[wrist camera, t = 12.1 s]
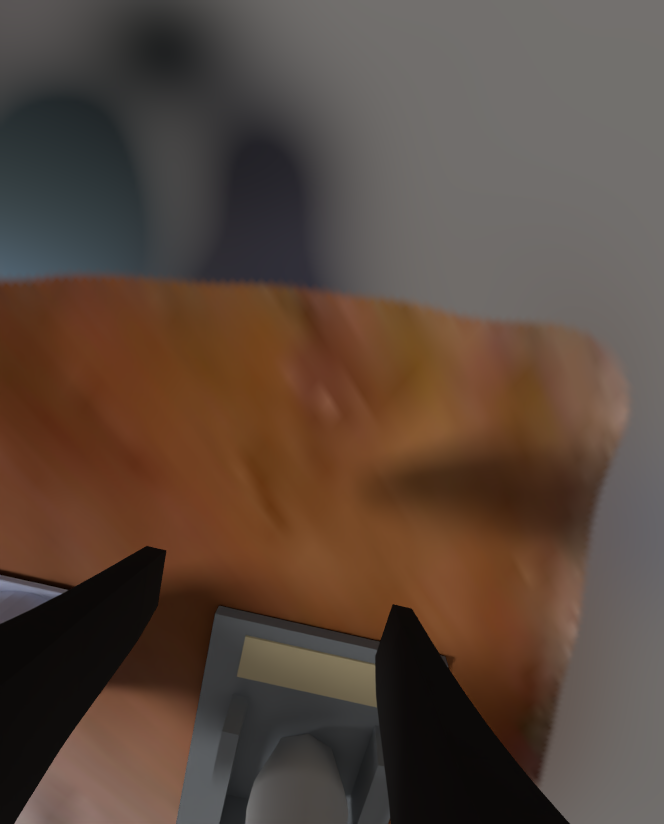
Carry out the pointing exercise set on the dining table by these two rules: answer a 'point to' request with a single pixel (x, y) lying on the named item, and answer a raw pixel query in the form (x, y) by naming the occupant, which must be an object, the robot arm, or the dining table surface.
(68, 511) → the dining table surface
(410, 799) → the robot arm
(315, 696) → the stand
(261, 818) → the salt shaker
